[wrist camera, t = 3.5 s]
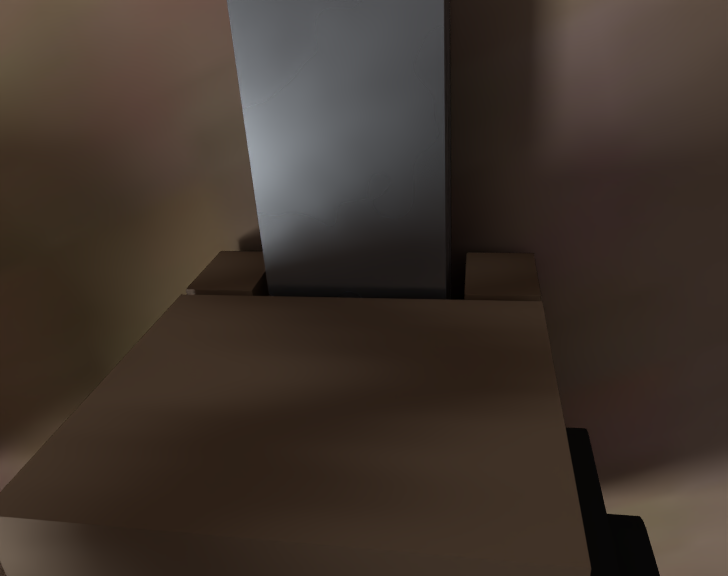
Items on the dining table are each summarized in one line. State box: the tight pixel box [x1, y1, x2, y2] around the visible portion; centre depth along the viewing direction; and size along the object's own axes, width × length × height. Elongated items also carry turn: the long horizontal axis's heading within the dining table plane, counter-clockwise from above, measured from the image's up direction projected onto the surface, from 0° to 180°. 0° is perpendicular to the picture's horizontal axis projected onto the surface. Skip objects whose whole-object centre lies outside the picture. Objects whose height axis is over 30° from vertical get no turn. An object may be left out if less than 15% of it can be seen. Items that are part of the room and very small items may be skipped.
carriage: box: [0, 251, 591, 576], centre depth 11 cm, size 6×6×7 cm
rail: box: [227, 0, 451, 300], centre depth 10 cm, size 3×21×4 cm, turn 4°
